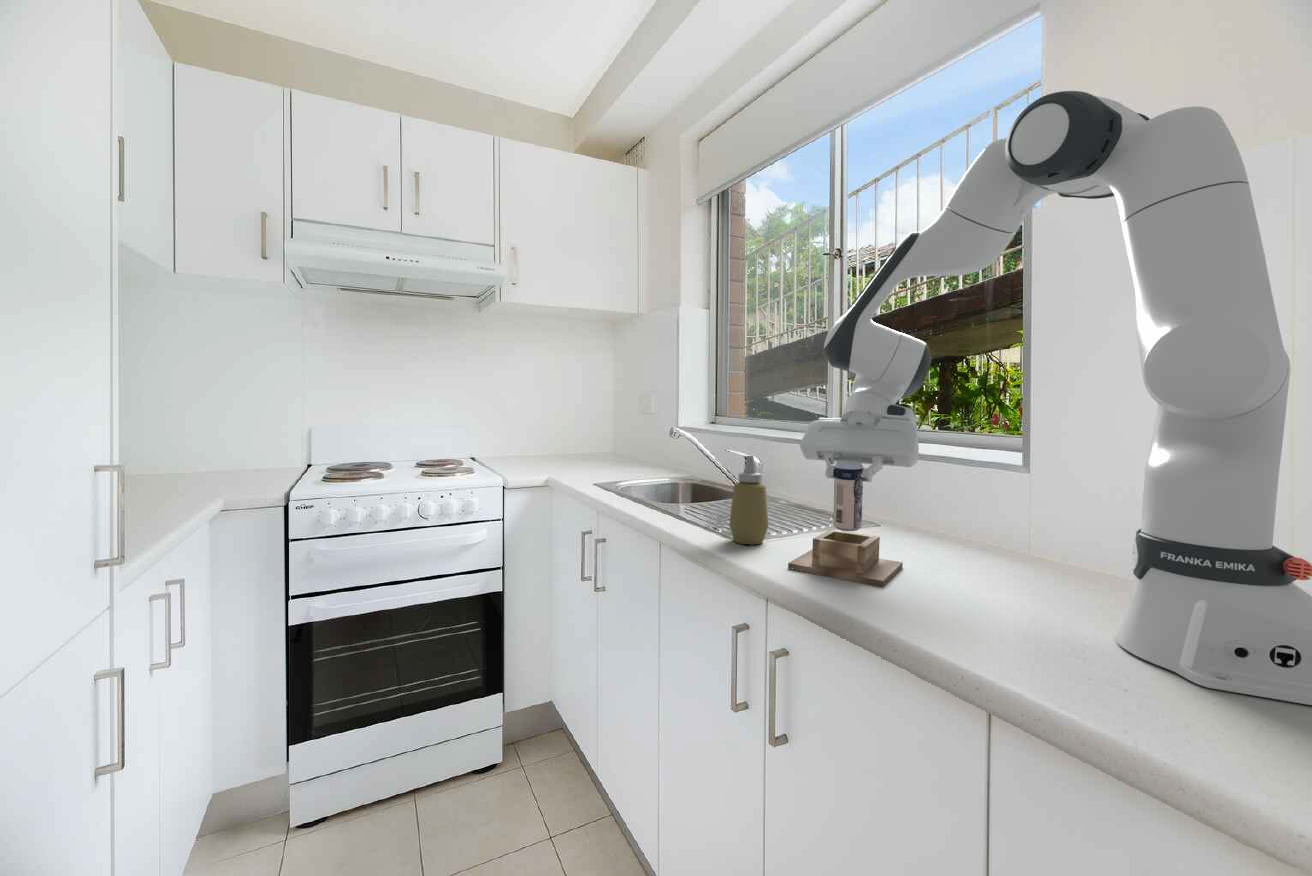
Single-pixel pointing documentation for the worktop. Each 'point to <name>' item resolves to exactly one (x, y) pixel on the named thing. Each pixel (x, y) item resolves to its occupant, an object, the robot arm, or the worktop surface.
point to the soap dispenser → (749, 507)
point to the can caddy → (847, 558)
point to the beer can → (848, 495)
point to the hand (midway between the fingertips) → (847, 478)
